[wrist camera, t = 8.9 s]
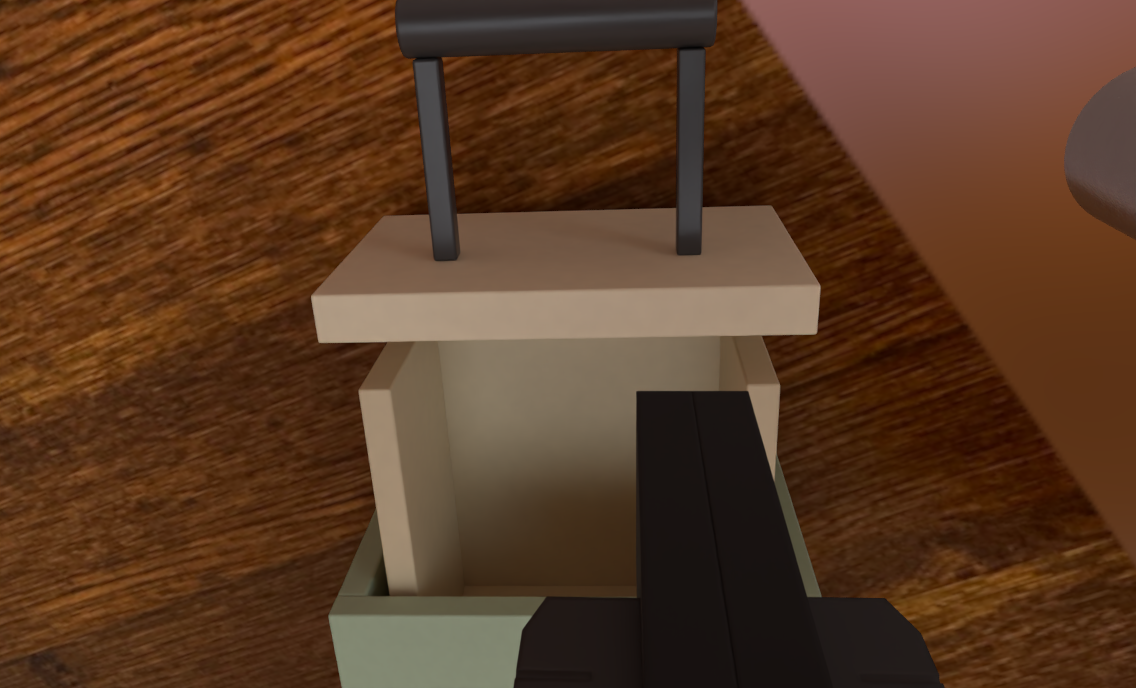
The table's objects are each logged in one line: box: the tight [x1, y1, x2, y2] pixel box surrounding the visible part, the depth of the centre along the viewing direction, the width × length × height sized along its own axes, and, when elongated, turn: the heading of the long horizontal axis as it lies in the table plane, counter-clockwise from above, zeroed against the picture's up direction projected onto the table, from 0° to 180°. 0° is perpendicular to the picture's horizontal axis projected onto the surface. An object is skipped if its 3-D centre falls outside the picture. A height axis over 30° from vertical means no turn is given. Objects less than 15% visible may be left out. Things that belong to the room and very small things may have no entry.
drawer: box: [311, 0, 820, 597], centre depth 24 cm, size 20×11×7 cm, turn 2°
